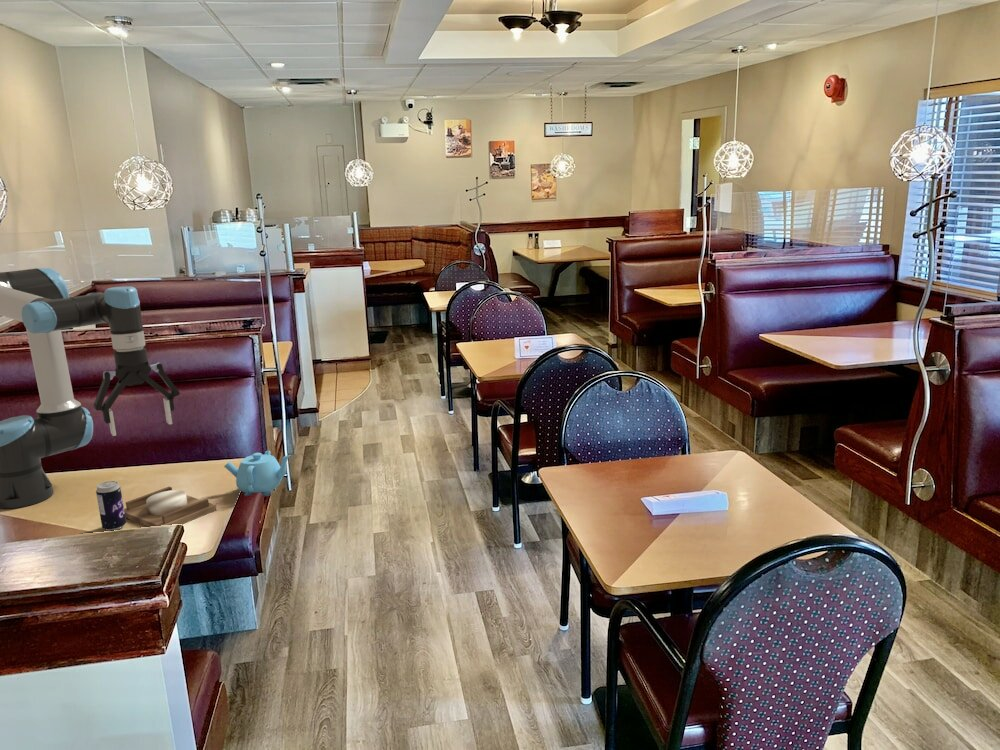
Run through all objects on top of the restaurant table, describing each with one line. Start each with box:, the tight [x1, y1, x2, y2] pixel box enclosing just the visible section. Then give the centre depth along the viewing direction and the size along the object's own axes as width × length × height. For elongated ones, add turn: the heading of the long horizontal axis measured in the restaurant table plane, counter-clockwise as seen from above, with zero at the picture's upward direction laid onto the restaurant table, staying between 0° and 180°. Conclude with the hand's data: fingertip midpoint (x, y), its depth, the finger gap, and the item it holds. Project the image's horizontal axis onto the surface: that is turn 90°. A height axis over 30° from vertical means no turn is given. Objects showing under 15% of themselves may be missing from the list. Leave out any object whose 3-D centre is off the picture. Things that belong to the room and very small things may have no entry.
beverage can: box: [95, 480, 127, 532], centre depth 201 cm, size 6×6×12 cm
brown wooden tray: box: [124, 486, 217, 527], centre depth 210 cm, size 20×16×4 cm
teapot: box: [224, 450, 292, 497], centre depth 223 cm, size 15×14×11 cm
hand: (142, 428), depth 200 cm, fingers open, 13 cm apart
